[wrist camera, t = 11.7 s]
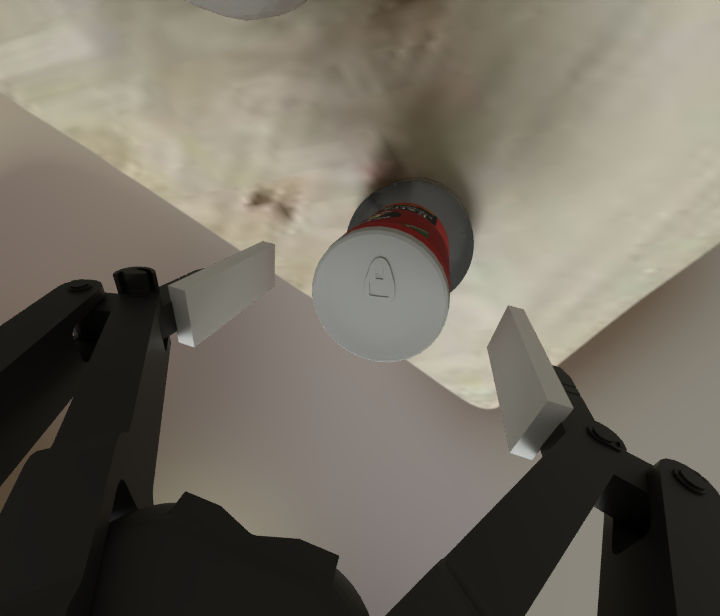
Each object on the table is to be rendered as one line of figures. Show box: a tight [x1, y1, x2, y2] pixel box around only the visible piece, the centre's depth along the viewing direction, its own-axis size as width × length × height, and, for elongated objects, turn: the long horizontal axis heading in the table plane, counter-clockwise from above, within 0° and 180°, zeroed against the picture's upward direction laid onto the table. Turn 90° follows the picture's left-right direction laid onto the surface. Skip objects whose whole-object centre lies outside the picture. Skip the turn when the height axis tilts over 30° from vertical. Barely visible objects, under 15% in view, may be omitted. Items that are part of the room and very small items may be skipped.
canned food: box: [312, 202, 450, 362], centre depth 20 cm, size 8×8×11 cm
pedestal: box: [347, 178, 474, 292], centre depth 27 cm, size 11×11×5 cm
